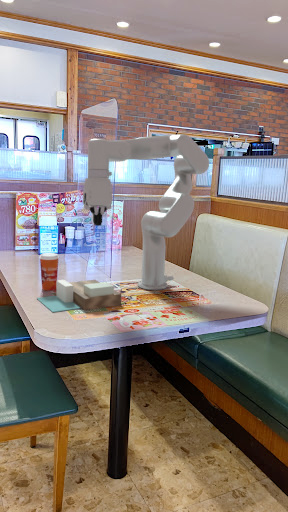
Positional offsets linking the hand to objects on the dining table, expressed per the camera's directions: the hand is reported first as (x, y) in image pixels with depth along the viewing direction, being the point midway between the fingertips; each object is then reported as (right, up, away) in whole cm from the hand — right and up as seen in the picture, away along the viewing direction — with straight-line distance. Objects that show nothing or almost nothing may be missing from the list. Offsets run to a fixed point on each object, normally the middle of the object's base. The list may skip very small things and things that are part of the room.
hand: (97, 225), depth 149 cm
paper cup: (-20, -25, +12) cm, 34 cm away
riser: (-3, -27, +1) cm, 28 cm away
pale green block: (+1, -25, -6) cm, 25 cm away
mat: (-13, -28, -6) cm, 32 cm away
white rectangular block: (-10, -24, -1) cm, 26 cm away
